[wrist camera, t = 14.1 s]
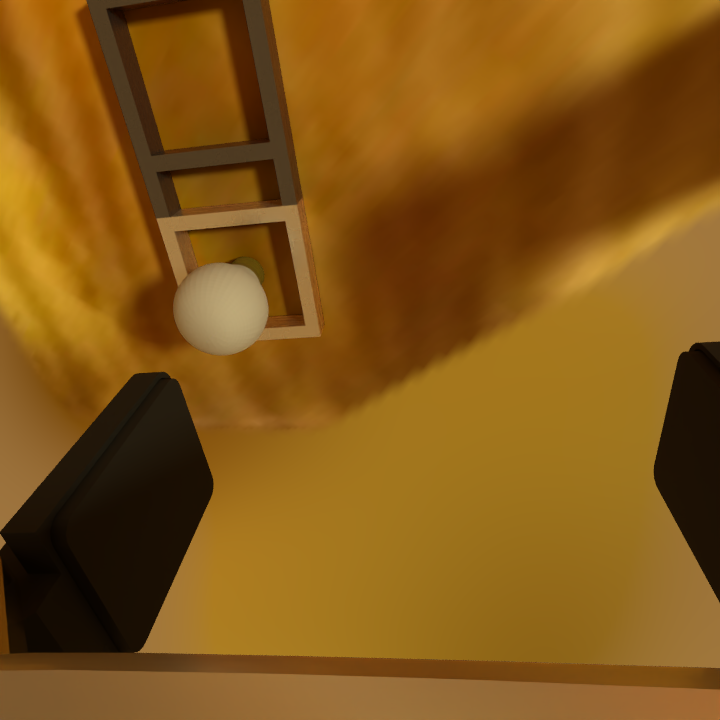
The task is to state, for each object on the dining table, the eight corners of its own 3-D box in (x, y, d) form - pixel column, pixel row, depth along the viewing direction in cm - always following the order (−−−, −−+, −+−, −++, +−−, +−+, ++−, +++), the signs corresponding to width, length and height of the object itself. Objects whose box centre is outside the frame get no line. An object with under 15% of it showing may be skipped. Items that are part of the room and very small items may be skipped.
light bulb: (300, 255, 39) (270, 314, 30) (270, 317, 41) (235, 387, 33) (226, 216, 37) (173, 267, 29) (201, 283, 40) (145, 346, 32)
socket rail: (262, -34, 30) (253, -39, 28) (324, 324, 41) (320, 336, 40) (101, -8, 31) (83, -11, 29) (205, 332, 43) (196, 344, 41)
